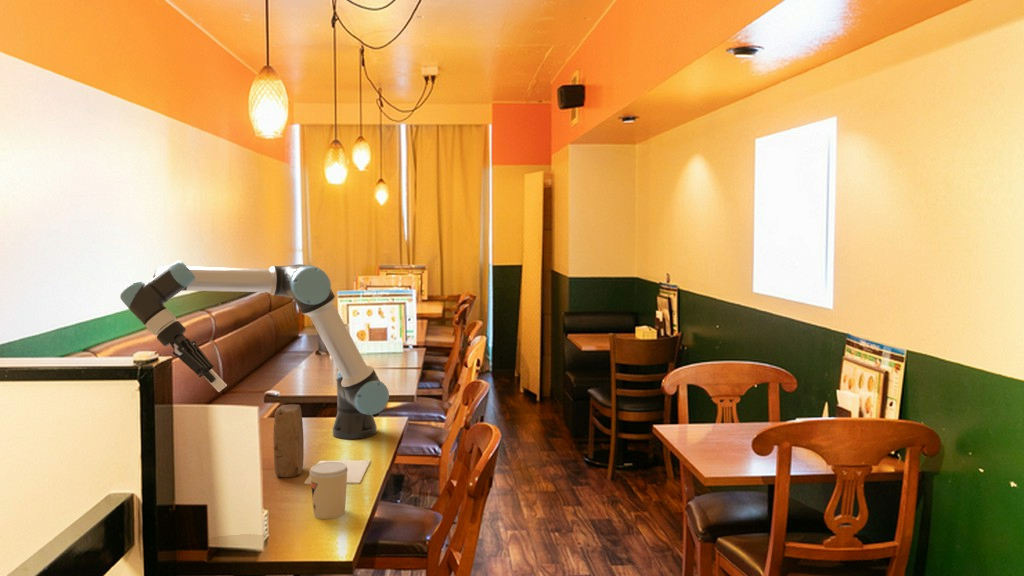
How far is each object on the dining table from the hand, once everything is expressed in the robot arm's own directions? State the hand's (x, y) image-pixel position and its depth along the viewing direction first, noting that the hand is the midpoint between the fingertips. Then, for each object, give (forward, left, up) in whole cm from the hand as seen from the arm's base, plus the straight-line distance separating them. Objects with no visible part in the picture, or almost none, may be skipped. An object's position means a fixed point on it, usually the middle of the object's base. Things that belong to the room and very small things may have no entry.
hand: (222, 388), depth 222 cm
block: (0, +19, -25) cm, 32 cm away
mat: (0, +33, -25) cm, 42 cm away
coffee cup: (+32, +37, -25) cm, 55 cm away
